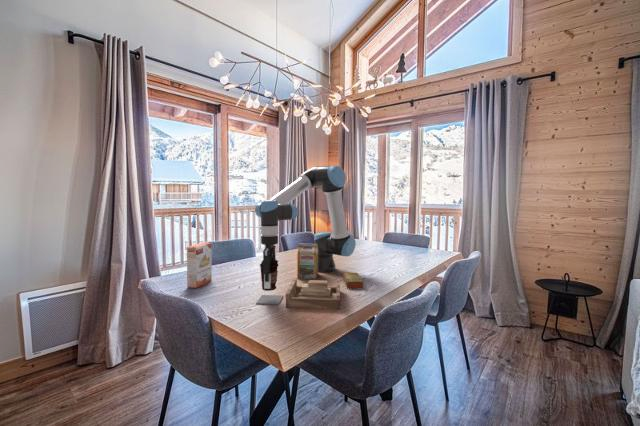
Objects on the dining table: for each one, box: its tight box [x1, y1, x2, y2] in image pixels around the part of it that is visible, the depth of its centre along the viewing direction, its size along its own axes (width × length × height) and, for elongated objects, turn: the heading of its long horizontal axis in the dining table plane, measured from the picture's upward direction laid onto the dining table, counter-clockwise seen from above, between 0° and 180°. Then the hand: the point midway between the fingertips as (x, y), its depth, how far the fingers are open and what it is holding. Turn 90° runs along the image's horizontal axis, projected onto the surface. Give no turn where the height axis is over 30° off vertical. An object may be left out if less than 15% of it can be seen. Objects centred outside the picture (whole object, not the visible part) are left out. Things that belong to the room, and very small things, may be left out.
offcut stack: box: [300, 279, 332, 297], centre depth 146 cm, size 5×14×6 cm, turn 86°
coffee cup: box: [259, 259, 279, 292], centre depth 136 cm, size 9×8×13 cm
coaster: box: [255, 294, 284, 306], centre depth 137 cm, size 10×10×1 cm
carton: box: [342, 272, 364, 290], centre depth 161 cm, size 8×16×4 cm, turn 3°
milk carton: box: [296, 243, 319, 280], centre depth 174 cm, size 11×10×19 cm
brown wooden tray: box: [285, 277, 341, 310], centre depth 139 cm, size 22×23×6 cm
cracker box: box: [186, 242, 213, 289], centre depth 159 cm, size 14×6×21 cm, turn 168°
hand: (269, 285), depth 136 cm, fingers closed on coffee cup, 8 cm apart
